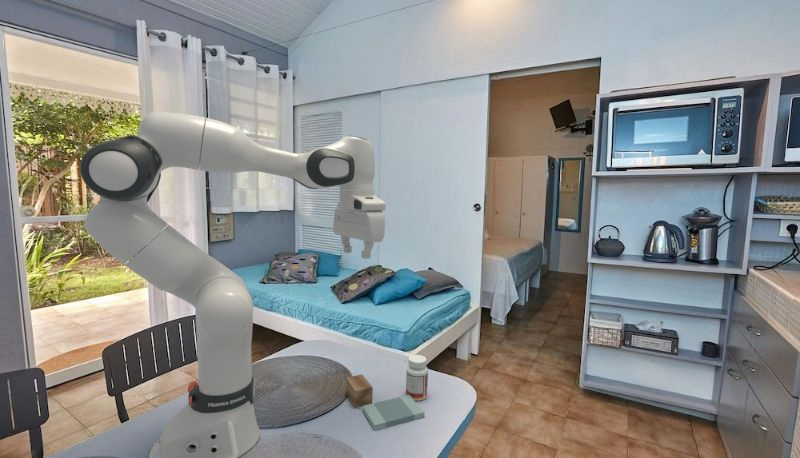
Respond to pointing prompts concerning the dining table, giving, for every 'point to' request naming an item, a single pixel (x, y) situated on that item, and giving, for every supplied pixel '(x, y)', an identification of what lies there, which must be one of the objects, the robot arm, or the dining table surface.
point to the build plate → (392, 412)
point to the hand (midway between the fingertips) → (356, 255)
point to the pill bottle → (417, 377)
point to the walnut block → (359, 390)
